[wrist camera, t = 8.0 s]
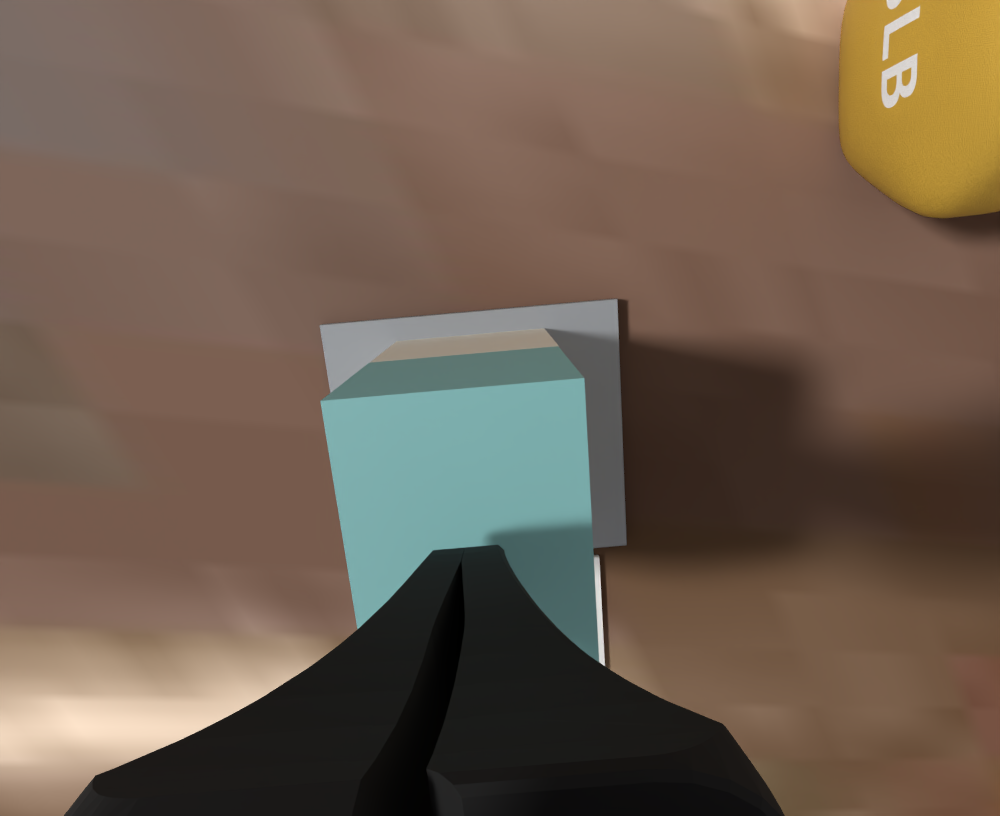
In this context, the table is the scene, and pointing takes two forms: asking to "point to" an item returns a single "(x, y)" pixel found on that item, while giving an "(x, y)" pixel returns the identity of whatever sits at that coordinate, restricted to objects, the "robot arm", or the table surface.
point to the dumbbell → (923, 102)
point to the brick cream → (467, 344)
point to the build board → (578, 333)
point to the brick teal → (467, 475)
